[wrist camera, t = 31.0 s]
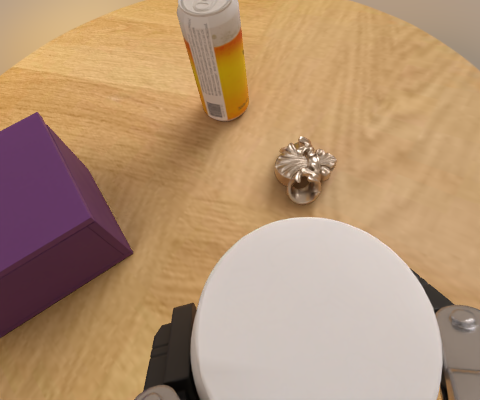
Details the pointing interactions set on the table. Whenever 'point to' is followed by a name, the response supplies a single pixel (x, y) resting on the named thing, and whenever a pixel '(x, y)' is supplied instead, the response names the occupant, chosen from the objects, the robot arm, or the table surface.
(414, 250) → the table surface
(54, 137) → the box
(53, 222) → the lid
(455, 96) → the table surface
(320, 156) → the ornament
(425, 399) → the pill bottle
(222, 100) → the beer can
